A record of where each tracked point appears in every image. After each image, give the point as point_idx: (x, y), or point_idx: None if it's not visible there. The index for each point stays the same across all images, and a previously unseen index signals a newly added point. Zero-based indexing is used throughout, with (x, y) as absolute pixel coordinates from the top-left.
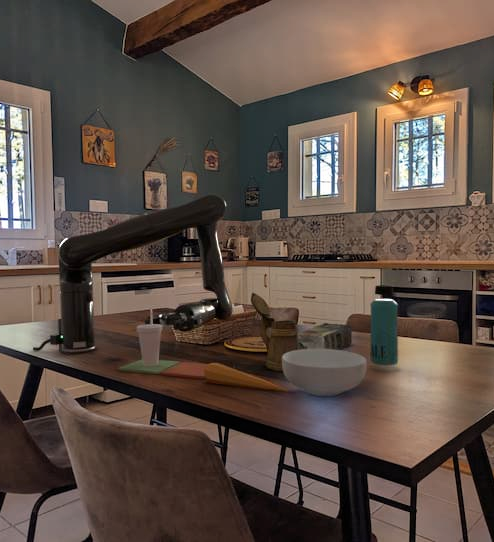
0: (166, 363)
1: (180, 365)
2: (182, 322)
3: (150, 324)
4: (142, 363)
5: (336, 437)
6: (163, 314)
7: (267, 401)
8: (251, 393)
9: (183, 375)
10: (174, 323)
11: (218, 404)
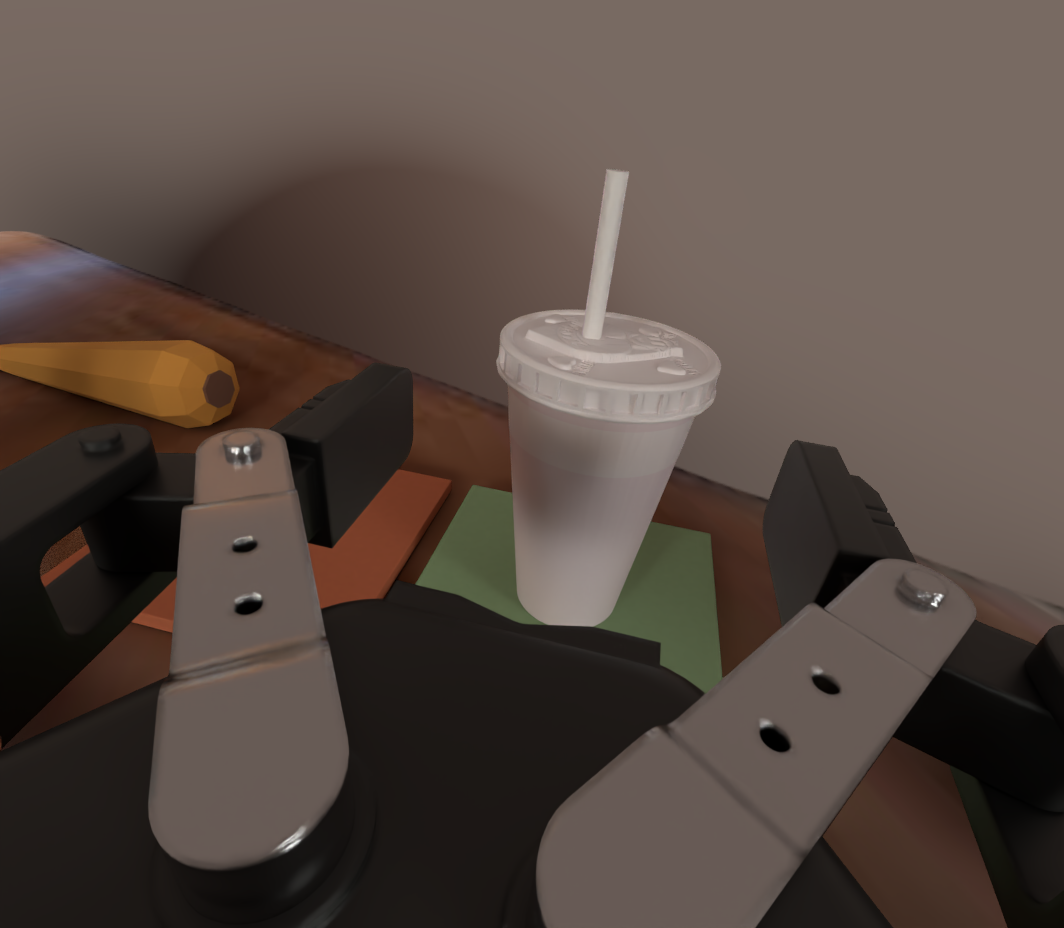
0: None
1: (355, 579)
2: (299, 415)
3: (653, 384)
4: (634, 613)
5: (59, 257)
6: (828, 653)
7: (86, 327)
8: None
9: None
10: (401, 383)
11: (237, 325)
